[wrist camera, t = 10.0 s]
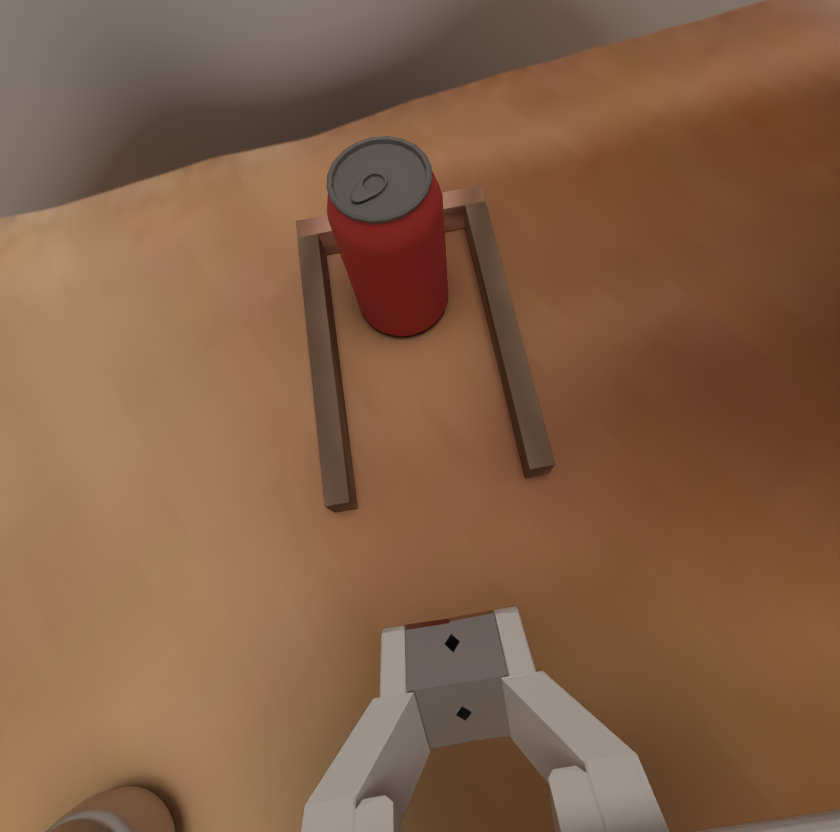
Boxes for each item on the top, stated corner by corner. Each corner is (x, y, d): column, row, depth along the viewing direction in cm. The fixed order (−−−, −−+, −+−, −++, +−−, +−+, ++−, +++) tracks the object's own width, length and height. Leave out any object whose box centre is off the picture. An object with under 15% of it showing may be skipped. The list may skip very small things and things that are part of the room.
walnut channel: (480, 209, 40) (481, 185, 37) (548, 473, 32) (554, 464, 30) (305, 242, 40) (295, 221, 37) (334, 512, 33) (324, 506, 30)
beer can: (342, 304, 38) (290, 182, 26) (403, 248, 39) (379, 108, 28) (404, 357, 36) (377, 250, 25) (467, 296, 37) (468, 168, 26)
